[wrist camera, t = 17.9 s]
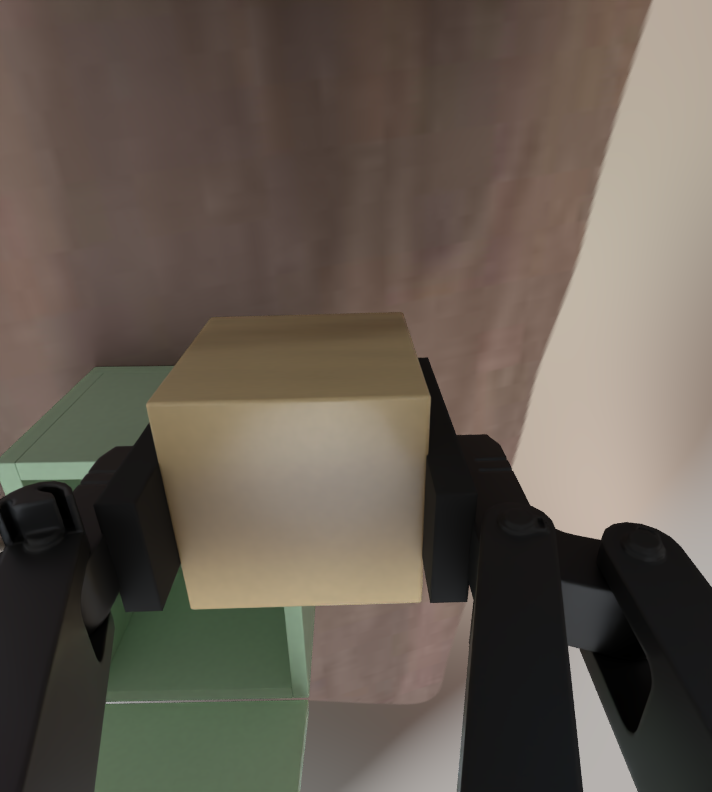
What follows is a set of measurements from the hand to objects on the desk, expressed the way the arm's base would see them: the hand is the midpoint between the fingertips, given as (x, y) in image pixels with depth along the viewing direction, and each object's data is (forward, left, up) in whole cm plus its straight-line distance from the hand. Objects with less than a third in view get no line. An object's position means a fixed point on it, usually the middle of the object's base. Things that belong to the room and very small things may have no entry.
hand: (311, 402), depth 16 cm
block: (0, 0, 0) cm, 0 cm away
